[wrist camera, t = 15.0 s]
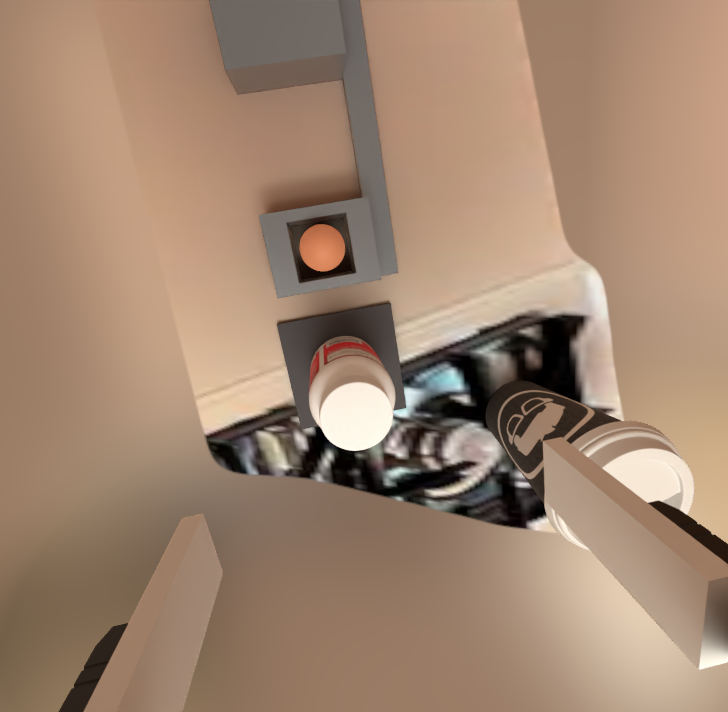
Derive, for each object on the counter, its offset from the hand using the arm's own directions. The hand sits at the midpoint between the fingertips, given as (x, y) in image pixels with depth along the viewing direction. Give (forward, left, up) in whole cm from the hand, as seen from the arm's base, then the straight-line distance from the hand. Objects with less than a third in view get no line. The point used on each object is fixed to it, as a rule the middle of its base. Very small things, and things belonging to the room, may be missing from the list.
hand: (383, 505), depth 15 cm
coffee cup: (+9, +16, -21) cm, 28 cm away
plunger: (-10, 0, -21) cm, 23 cm away
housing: (-17, +1, -21) cm, 27 cm away
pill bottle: (+1, 0, -21) cm, 21 cm away
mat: (+1, 0, -21) cm, 21 cm away
